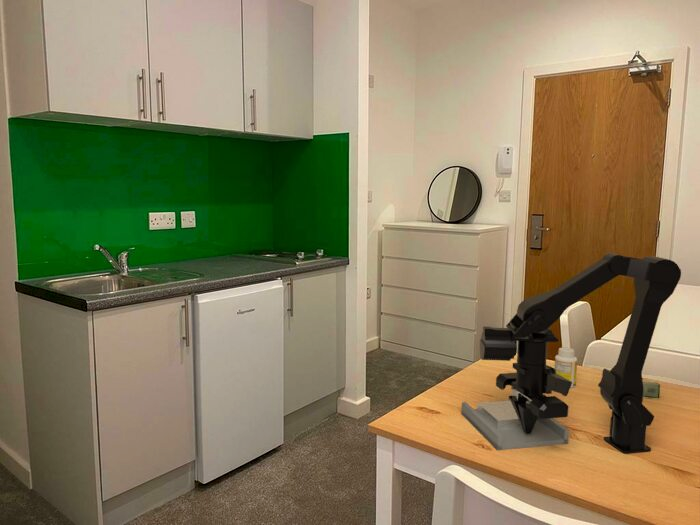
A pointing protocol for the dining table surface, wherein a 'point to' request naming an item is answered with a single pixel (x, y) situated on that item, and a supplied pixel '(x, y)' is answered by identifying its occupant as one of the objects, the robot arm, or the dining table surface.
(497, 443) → the slide box
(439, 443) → the dining table surface
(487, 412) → the cover plate
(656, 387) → the medication box
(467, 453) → the dining table surface
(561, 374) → the supplement bottle
